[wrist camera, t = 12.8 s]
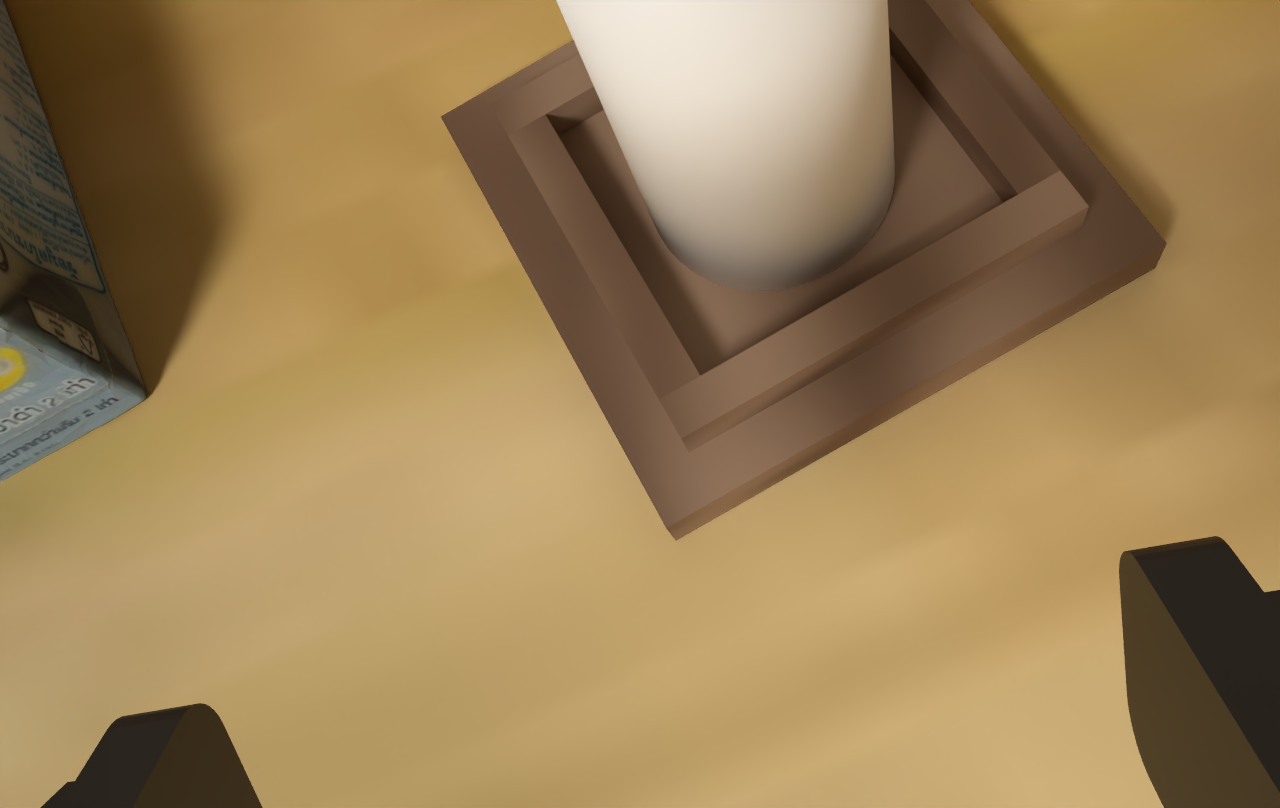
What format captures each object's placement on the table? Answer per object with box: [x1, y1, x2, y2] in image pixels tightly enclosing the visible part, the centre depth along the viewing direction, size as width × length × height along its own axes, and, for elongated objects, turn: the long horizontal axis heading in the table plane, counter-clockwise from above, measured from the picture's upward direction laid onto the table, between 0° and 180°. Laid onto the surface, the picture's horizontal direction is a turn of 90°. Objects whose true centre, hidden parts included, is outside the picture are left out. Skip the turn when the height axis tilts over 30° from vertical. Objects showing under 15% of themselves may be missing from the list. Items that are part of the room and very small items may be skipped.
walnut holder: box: [441, 0, 1166, 540], centre depth 22 cm, size 12×12×14 cm
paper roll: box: [556, 0, 895, 291], centre depth 22 cm, size 6×6×12 cm
